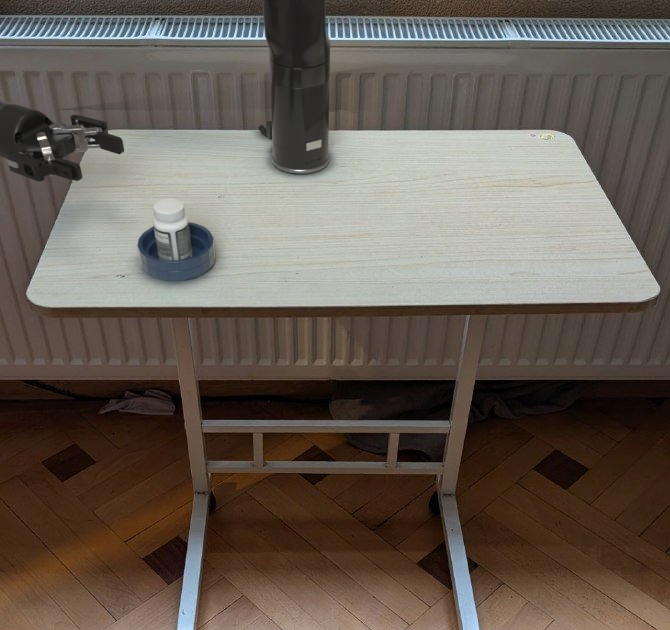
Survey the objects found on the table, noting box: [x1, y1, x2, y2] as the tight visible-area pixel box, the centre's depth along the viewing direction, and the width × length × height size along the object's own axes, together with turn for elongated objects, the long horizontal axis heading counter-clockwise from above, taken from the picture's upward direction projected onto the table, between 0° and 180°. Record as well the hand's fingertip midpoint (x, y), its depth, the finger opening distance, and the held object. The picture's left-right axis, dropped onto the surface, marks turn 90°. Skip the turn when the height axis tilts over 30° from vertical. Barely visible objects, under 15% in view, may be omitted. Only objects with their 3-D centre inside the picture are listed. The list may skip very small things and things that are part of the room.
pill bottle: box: [152, 197, 193, 260], centre depth 113 cm, size 5×5×8 cm
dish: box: [137, 221, 216, 282], centre depth 115 cm, size 10×10×4 cm
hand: (101, 159), depth 111 cm, fingers open, 8 cm apart
